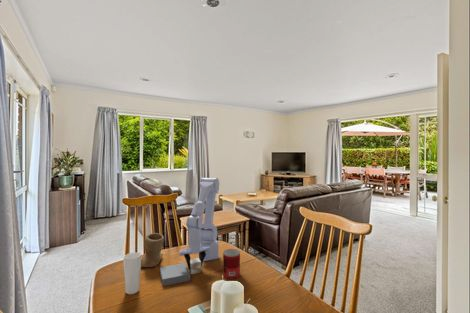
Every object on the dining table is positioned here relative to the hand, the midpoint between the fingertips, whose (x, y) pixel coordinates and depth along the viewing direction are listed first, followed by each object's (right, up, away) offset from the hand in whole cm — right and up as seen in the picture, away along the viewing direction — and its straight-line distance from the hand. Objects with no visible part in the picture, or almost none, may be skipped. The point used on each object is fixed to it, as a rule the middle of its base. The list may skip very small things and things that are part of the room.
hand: (194, 267), depth 117 cm
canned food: (+18, -2, -4) cm, 19 cm away
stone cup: (-24, -2, +9) cm, 26 cm away
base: (-8, -2, -6) cm, 10 cm away
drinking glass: (-23, -2, -17) cm, 29 cm away
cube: (0, -1, 0) cm, 1 cm away
